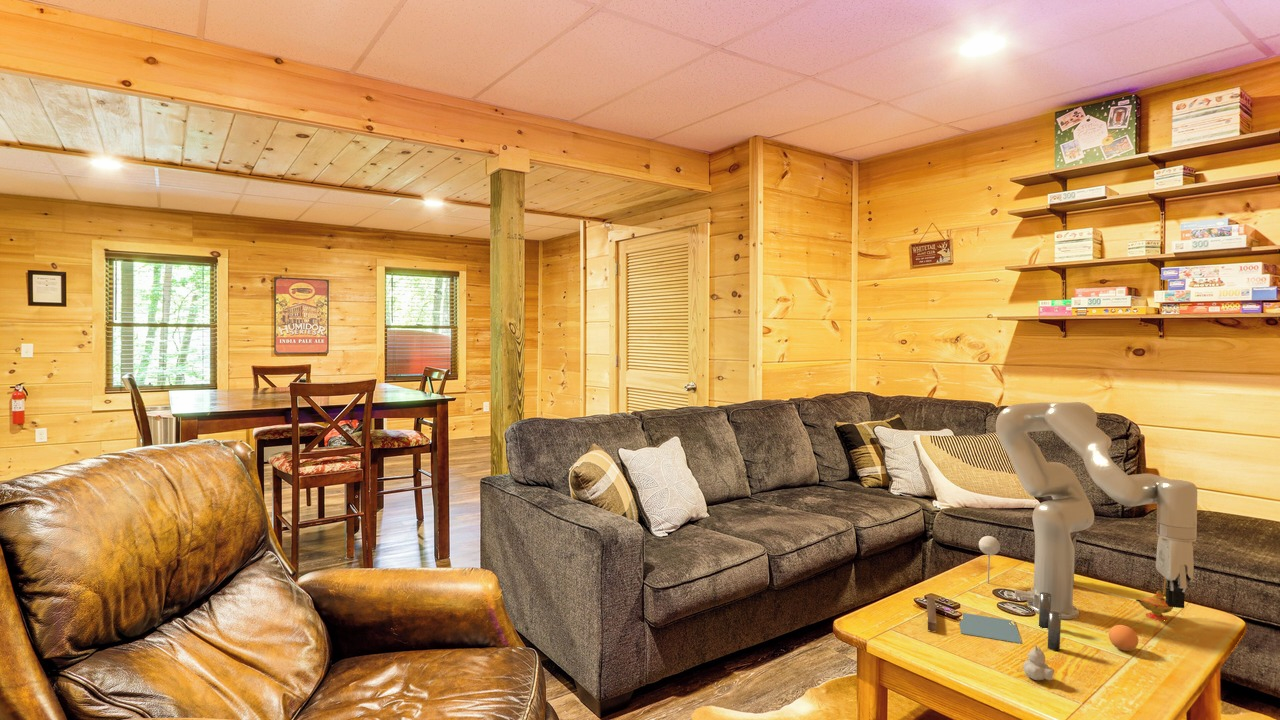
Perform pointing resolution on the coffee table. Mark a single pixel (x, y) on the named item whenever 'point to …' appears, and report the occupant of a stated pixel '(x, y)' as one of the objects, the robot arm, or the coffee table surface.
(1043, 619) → the post
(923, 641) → the coffee table surface
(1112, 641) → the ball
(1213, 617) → the coffee table surface
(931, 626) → the wall
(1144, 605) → the magic lamp
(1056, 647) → the post
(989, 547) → the lollipop
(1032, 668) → the grey lumpy figure
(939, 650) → the coffee table surface
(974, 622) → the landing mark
